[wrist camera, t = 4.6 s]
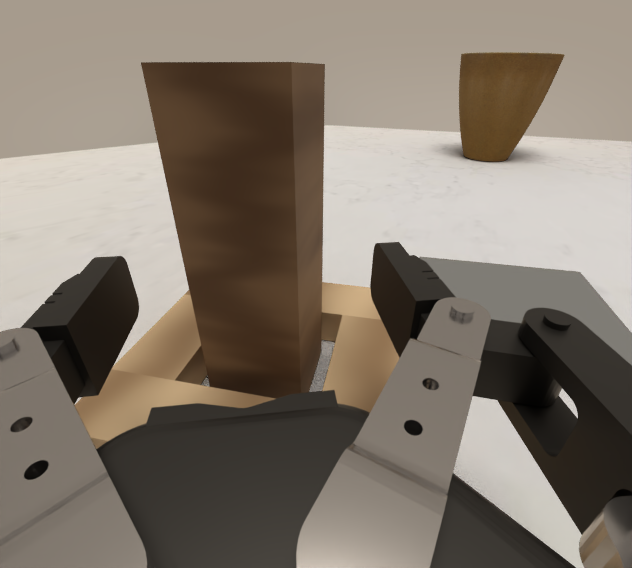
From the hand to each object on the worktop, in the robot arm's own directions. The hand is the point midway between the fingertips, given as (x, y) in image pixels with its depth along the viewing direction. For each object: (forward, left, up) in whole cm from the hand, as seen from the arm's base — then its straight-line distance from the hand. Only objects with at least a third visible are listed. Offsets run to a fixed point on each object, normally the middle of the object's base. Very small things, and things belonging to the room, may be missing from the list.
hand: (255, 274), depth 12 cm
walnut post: (-1, +3, -8) cm, 9 cm away
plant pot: (+20, +63, -8) cm, 67 cm away
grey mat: (+13, +12, -8) cm, 20 cm away
